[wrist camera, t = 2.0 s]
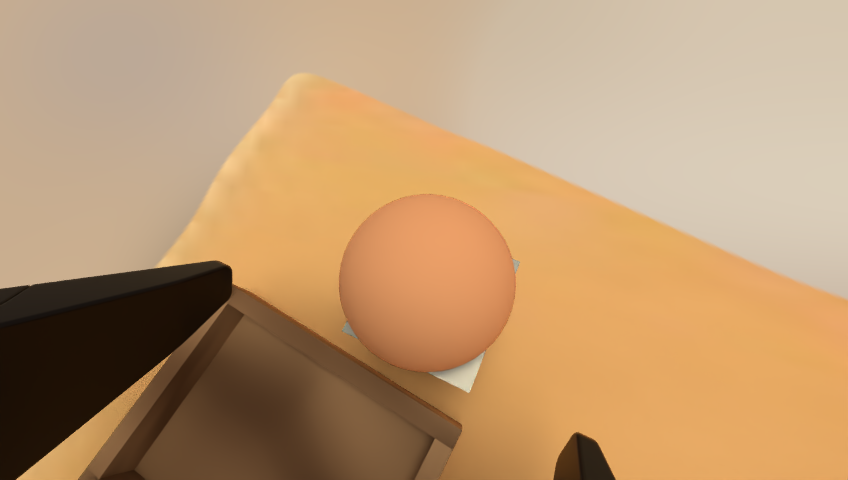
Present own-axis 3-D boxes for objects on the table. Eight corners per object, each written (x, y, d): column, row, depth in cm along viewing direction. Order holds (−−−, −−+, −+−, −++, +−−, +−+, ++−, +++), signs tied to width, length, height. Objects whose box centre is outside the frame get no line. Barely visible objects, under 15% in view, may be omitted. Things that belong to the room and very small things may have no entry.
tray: (340, 676, 14) (320, 725, 12) (117, 474, 17) (72, 486, 15) (461, 424, 17) (462, 430, 15) (249, 291, 20) (225, 281, 18)
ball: (463, 404, 12) (465, 418, 7) (336, 327, 13) (268, 295, 8) (528, 271, 13) (566, 209, 8) (408, 212, 14) (383, 131, 10)
